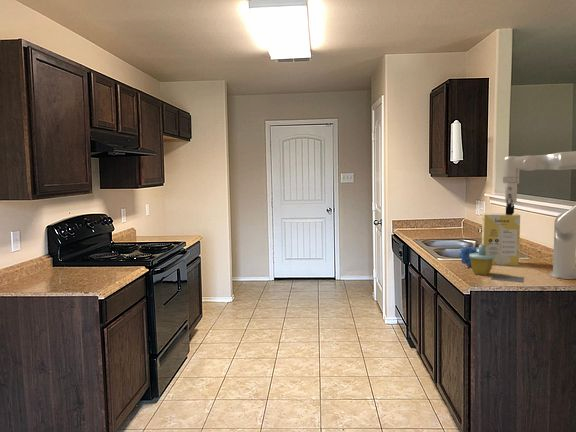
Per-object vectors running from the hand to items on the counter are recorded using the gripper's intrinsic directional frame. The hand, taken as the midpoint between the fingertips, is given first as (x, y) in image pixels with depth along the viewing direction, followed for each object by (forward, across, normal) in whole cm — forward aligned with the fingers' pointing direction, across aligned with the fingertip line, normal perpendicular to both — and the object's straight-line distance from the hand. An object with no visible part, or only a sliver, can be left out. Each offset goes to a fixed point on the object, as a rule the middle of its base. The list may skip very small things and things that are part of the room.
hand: (509, 214), depth 244 cm
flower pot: (+31, -12, +12) cm, 35 cm away
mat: (+30, -18, -1) cm, 35 cm away
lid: (+21, -12, +12) cm, 27 cm away
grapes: (+31, +4, +19) cm, 36 cm away
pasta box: (+31, +24, +6) cm, 39 cm away
